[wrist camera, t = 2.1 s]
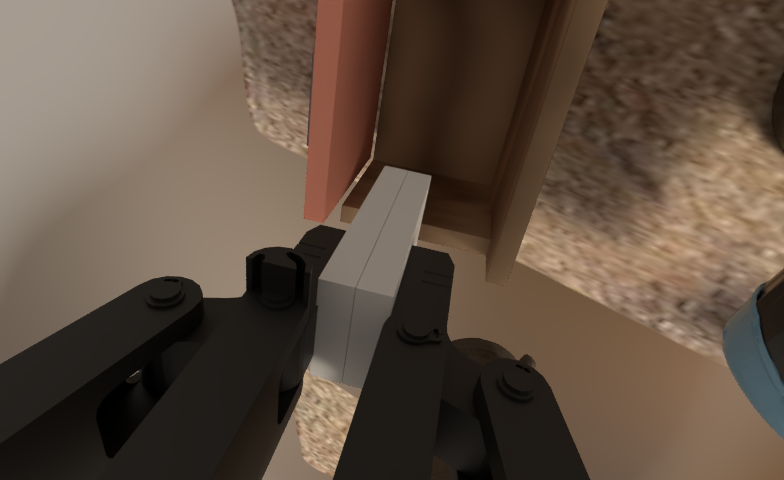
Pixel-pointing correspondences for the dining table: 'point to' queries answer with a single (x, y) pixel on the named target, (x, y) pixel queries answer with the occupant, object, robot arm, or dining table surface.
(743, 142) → the dining table surface
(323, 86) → the panel
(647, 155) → the dining table surface
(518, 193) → the wooden box
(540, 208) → the dining table surface
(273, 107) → the dining table surface
